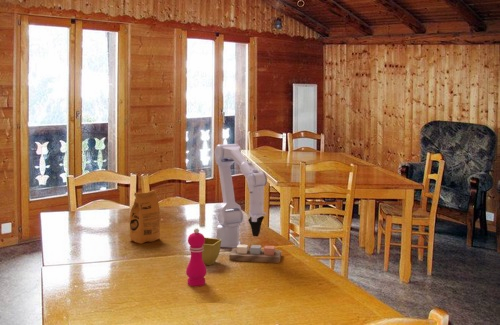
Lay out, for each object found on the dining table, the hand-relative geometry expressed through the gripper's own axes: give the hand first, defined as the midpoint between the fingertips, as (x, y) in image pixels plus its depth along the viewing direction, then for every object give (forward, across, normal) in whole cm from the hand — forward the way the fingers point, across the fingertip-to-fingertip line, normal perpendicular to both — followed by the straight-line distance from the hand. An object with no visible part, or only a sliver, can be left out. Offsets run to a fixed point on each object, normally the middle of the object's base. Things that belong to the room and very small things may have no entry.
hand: (256, 235), depth 244 cm
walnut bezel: (+9, 0, 0) cm, 9 cm away
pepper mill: (+10, -34, +17) cm, 39 cm away
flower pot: (+10, -10, +18) cm, 23 cm away
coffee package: (+10, +18, +52) cm, 56 cm away
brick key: (+8, 0, -5) cm, 9 cm away
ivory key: (+8, 0, +5) cm, 9 cm away
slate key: (+8, 0, 0) cm, 8 cm away
